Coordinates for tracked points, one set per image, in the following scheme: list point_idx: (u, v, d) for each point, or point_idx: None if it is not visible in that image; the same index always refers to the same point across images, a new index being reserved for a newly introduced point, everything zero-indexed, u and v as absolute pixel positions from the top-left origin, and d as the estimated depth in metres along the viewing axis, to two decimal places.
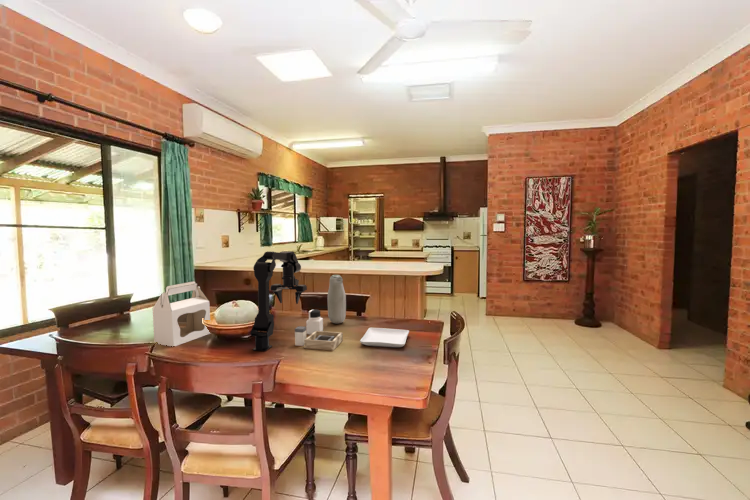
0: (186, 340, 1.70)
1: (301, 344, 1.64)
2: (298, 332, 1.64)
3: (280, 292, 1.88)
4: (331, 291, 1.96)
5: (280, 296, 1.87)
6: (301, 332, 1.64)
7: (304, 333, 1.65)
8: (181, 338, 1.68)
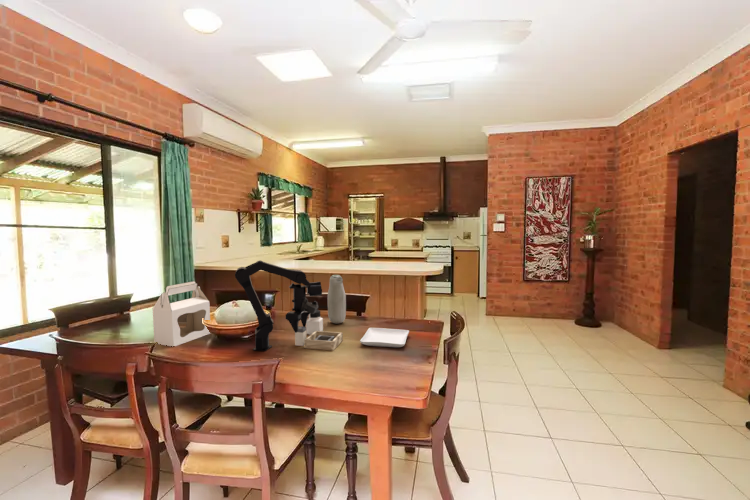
0: (186, 340, 1.70)
1: (301, 344, 1.64)
2: (298, 332, 1.64)
3: (304, 314, 1.70)
4: (331, 291, 1.96)
5: (303, 319, 1.70)
6: (301, 332, 1.64)
7: (304, 333, 1.65)
8: (181, 338, 1.68)
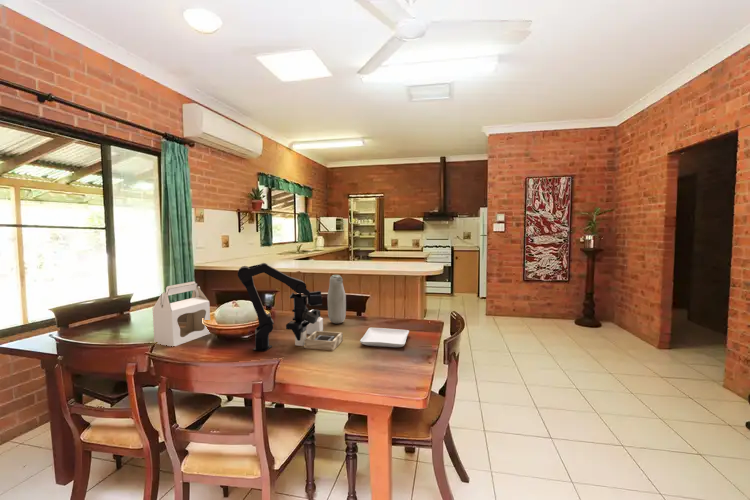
0: (186, 340, 1.70)
1: (301, 344, 1.64)
2: None
3: (303, 325, 1.68)
4: (331, 291, 1.96)
5: None
6: (301, 332, 1.64)
7: (304, 333, 1.65)
8: (181, 338, 1.68)
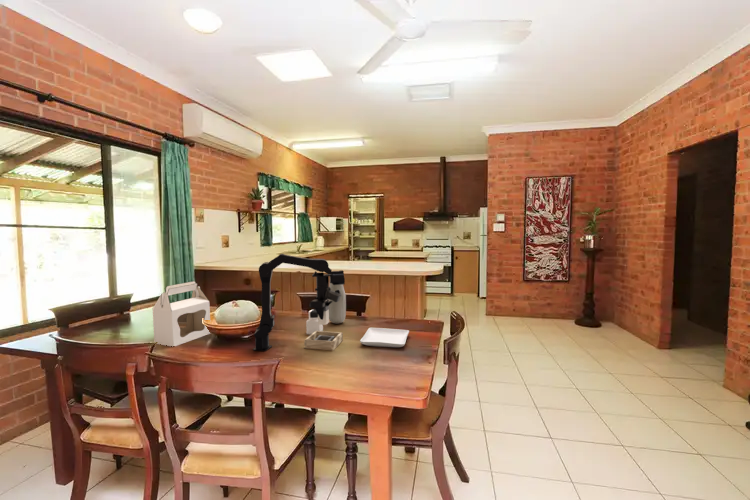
0: (186, 340, 1.70)
1: (324, 323, 1.63)
2: None
3: (325, 304, 1.67)
4: None
5: None
6: (324, 311, 1.63)
7: (327, 312, 1.64)
8: (181, 338, 1.68)
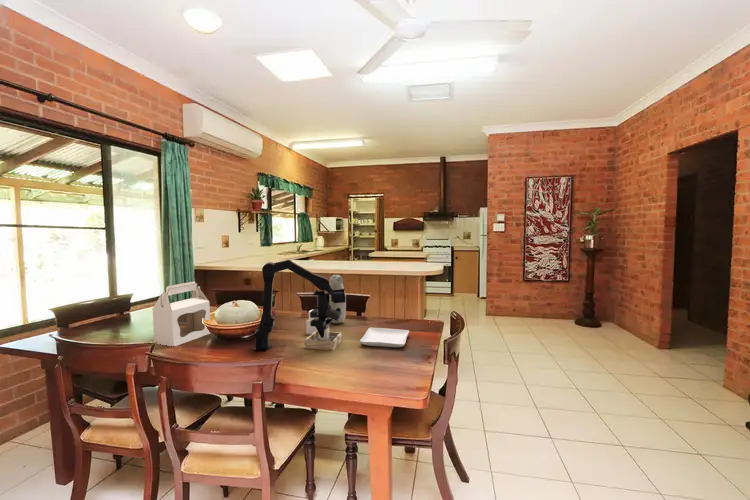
0: (186, 340, 1.70)
1: None
2: None
3: (326, 322, 1.68)
4: None
5: None
6: (325, 329, 1.63)
7: (327, 330, 1.65)
8: (181, 338, 1.68)
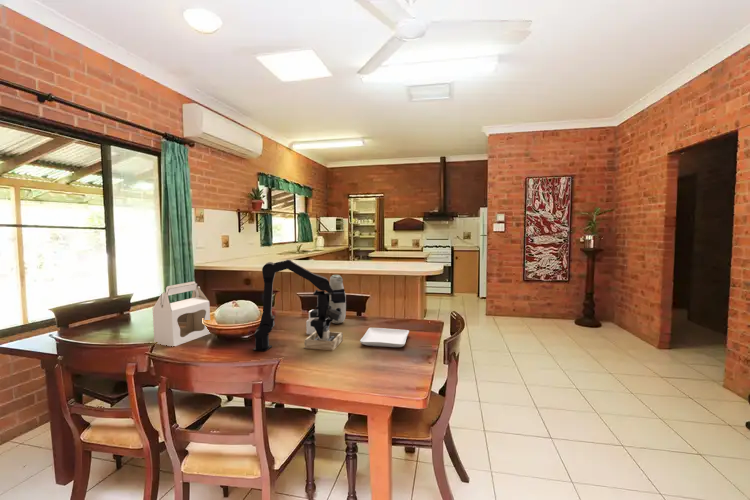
0: (186, 340, 1.70)
1: None
2: None
3: (327, 321, 1.69)
4: None
5: None
6: (325, 331, 1.63)
7: (327, 332, 1.65)
8: (181, 338, 1.68)
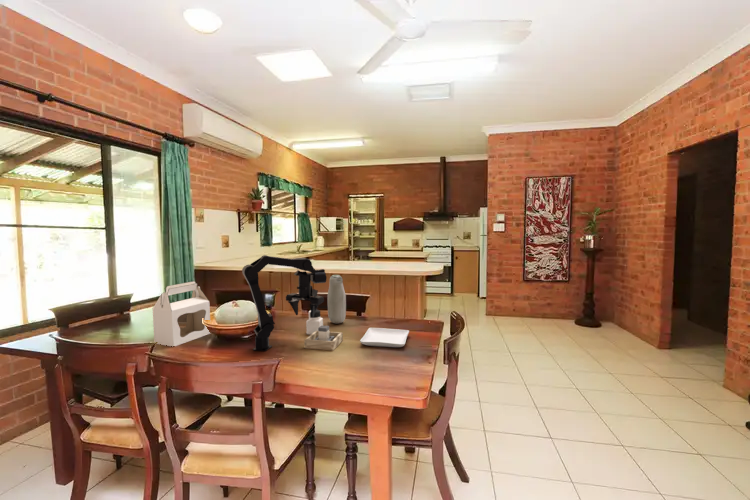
0: (186, 340, 1.70)
1: None
2: (322, 331, 1.64)
3: (296, 303, 1.71)
4: (331, 291, 1.96)
5: (296, 307, 1.71)
6: (325, 331, 1.63)
7: (327, 332, 1.65)
8: (181, 338, 1.68)
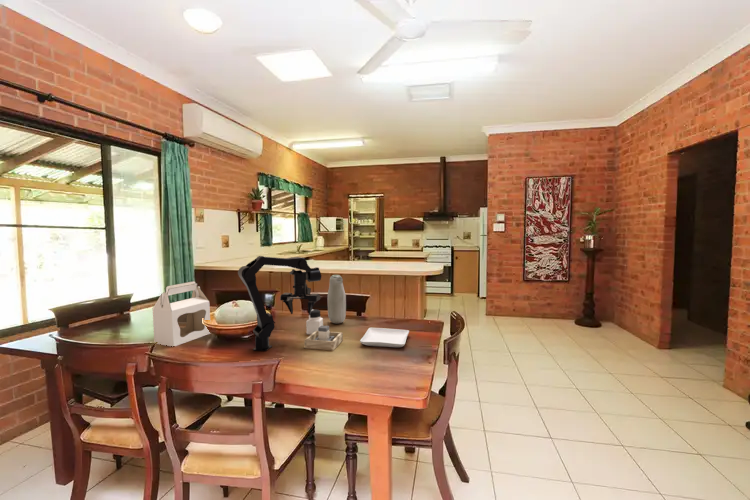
0: (186, 340, 1.70)
1: None
2: (322, 331, 1.64)
3: (291, 302, 1.72)
4: (331, 291, 1.96)
5: (291, 306, 1.71)
6: (325, 331, 1.63)
7: (327, 332, 1.65)
8: (181, 338, 1.68)
